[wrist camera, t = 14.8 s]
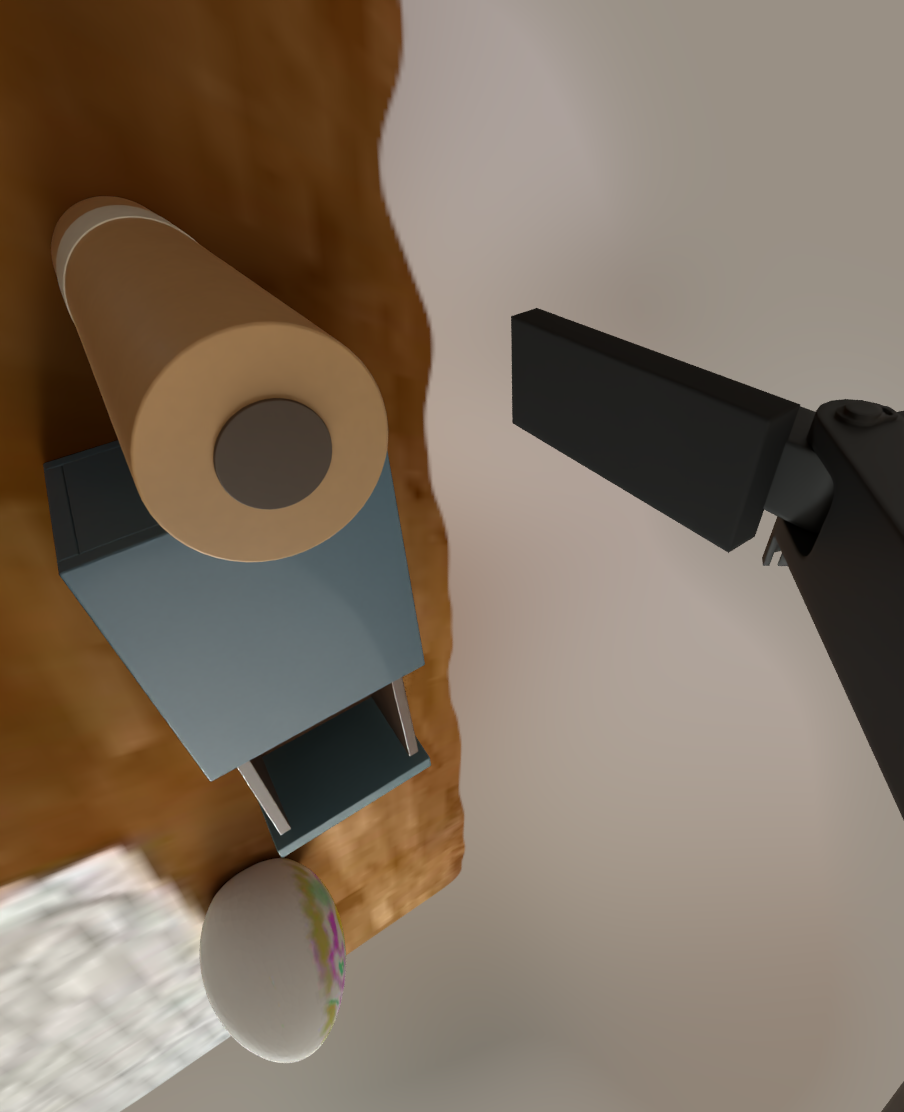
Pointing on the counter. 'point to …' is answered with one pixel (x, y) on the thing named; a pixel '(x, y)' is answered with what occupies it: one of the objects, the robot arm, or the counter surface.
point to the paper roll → (217, 388)
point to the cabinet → (235, 613)
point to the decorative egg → (274, 959)
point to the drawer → (336, 767)
